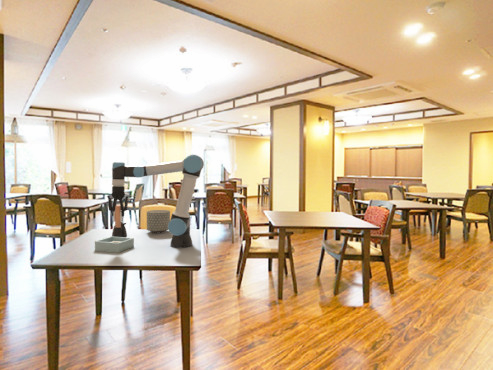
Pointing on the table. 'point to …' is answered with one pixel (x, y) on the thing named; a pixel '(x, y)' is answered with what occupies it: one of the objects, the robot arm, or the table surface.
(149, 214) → the planter
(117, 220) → the peg
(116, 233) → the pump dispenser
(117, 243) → the box
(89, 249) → the table surface
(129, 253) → the table surface
